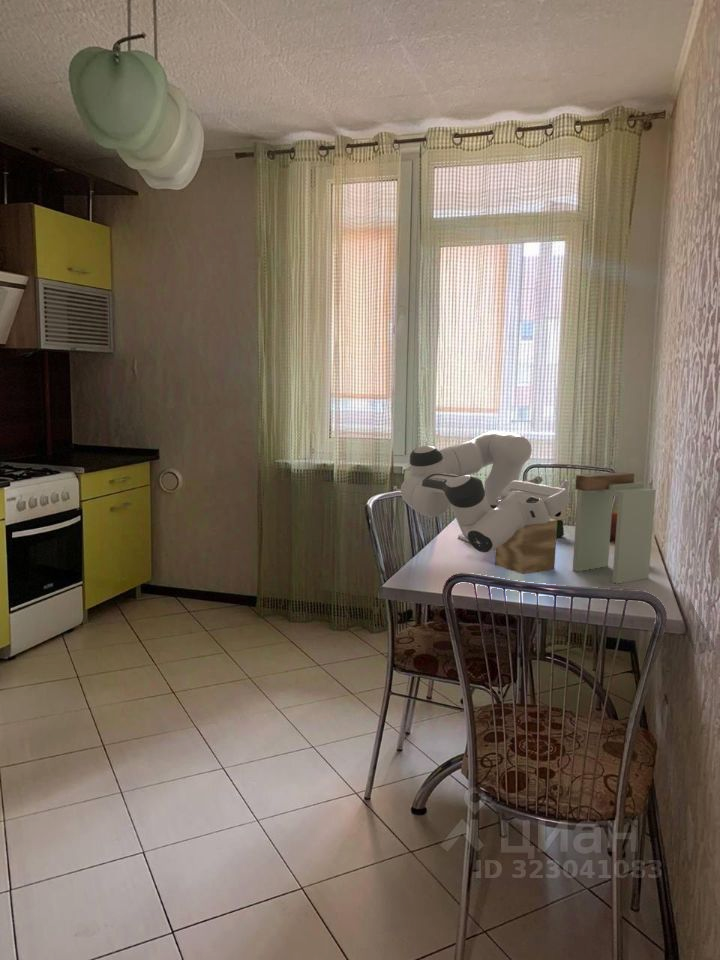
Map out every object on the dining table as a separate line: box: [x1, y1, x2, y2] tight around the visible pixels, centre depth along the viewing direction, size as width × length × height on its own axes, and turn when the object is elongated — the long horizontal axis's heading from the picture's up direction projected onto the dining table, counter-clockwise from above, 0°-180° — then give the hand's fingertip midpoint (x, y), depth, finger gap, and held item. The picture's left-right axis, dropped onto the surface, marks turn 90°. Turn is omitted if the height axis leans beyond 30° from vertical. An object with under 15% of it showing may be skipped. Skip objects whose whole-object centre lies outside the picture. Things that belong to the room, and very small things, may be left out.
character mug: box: [550, 505, 572, 538], centre depth 265 cm, size 11×7×13 cm, turn 53°
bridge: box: [572, 482, 657, 585], centre depth 211 cm, size 16×14×28 cm
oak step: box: [494, 519, 557, 575], centre depth 218 cm, size 12×13×15 cm
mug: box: [610, 509, 618, 541], centre depth 262 cm, size 12×9×10 cm
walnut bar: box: [574, 471, 635, 491], centre depth 207 cm, size 4×20×4 cm, turn 122°
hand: (553, 479), depth 195 cm, fingers open, 8 cm apart
